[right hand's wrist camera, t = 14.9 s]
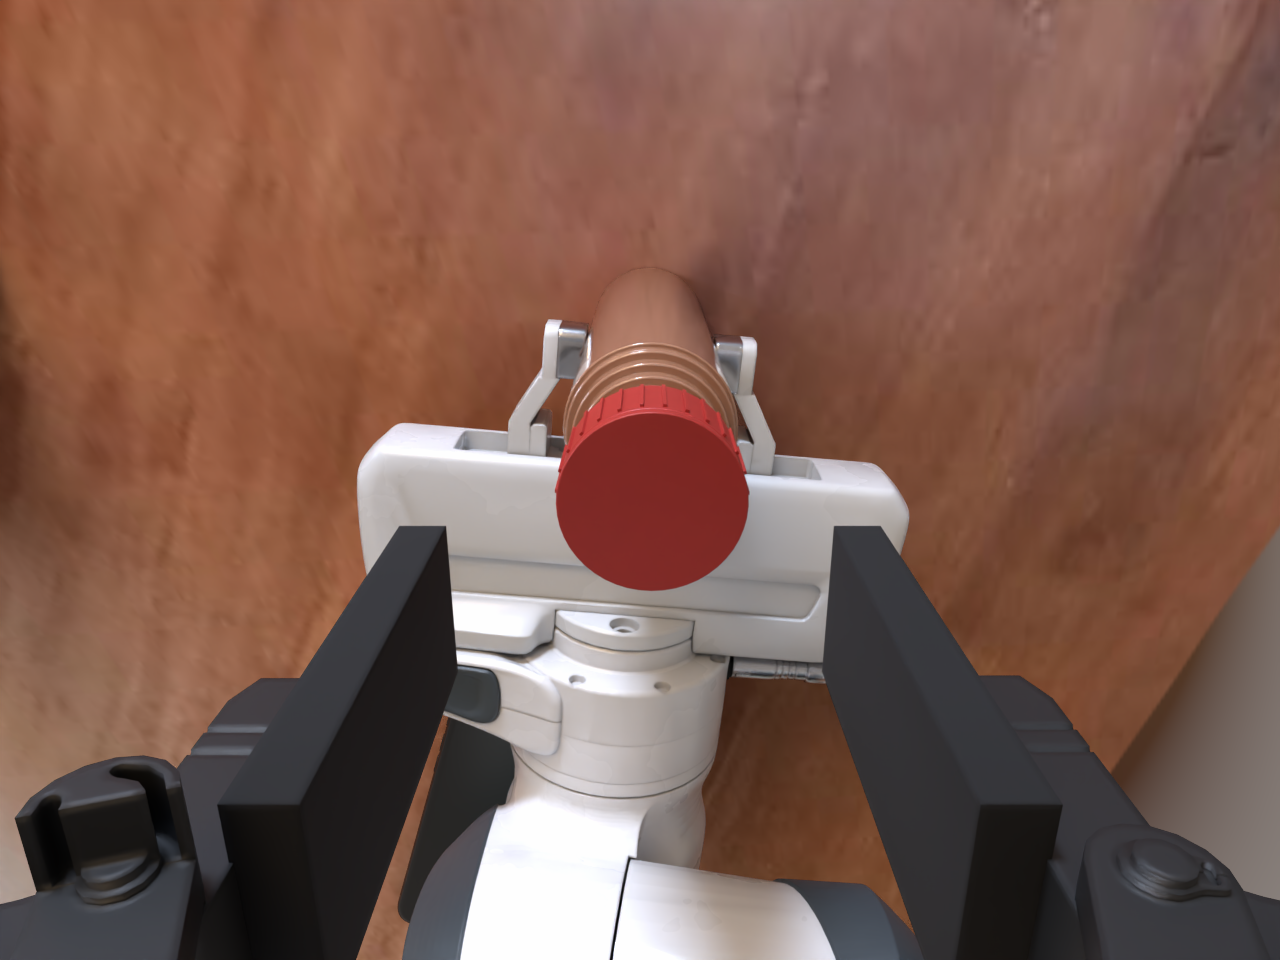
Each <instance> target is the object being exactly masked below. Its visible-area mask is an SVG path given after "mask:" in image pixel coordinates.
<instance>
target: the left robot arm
mask: <svg viewBox="0 0 1280 960" xmlns="http://www.w3.org/2000/svg"><path fill="white" fill-rule="evenodd" d="M588 331H589V323H582V322H573V321H563V320H552V319H549V320H548V321H547V323H546V326H545V333H544V344H543V363H542V369H541V370H540V372H539V373H538V375H537V376H536V378H535V379H534V380H533V382H532V383H531V385H530V386H529V388H528V389H527V391H526V392H525V394H524V395H523V397H522V398H521V400H520V401H519V403H518V404H517V406H516V408H515V410H514V412H513V414H512V416H511V418H510V420H509V424H508V432H506V431H495V430H483V429H471V428H460V427H448V426H436V425H425V424H414V423H400V424H397V425H395V426H394V427H392V428H391V429H390V430H389V431H388V432H387V433H386V434H384V435H383V436H382V437H381V438H380V439H379V440H378V441H377V442H376V443H375V444H374V445H373V446H372V447H371V448H370V450H369V451H368V452H367V453H366V455H365V456H364V458H363V459H362V461H361V463H360V466H359V469H358V475H357V501H358V516H359V527H360V536H361V544H362V551H363V558H364V564H365V569H366V574H367V575H368V573H369V571H370V570H371V568H372V567H373V565H374V564H375V562H376V561H377V559H378V558H379V556H380V555H381V553H382V552H383V550H384V549H385V547H386V545H387V544H388V542H389V541H390V539H391V538H392V536H393V535H394V533H395V532H396V530H397V529H398V527H399V526H446V530H447V543H448V555H449V567H450V579H451V592H452V604H453V616H454V628H455V641H456V653H457V665H458V673H457V676H456V679H455V682H454V684H453V687H452V690H451V693H450V696H449V698H448V701H447V704H446V707H445V710H444V713H443V715H445V716H447V717H450V718H453V719H456V720H458V721H461V722H463V723H466V724H469V725H471V726H474V727H476V728H479V729H481V730H483V731H486V732H488V733H490V734H493V735H495V736H497V737H499V738H501V739H503V740H505V741H507V742H510V745H511V749H512V753H513V758H514V763H515V773H514V779H513V782H512V784H511V786H510V789H509V792H508V795H507V800H506V804H504V805H499V804H496V805H494V806H493V807H491V808H490V809H488V810H487V811H486V812H484V813H483V814H482V815H481V816H480V817H478V818H477V819H476V820H475V821H474V822H473V823H472V824H471V825H470V826H469V827H468V828H467V829H466V830H465V831H464V832H463V833H462V834H461V835H460V836H459V837H458V838H457V839H456V840H455V841H454V842H453V843H452V844H451V845H450V846H449V847H448V848H447V849H446V850H445V851H444V853H443V854H442V855H441V856H440V858H439V859H438V860H437V862H436V863H435V865H434V866H433V868H432V870H431V872H430V873H429V875H428V877H427V879H426V881H425V883H424V885H423V887H422V889H421V892H420V894H419V897H418V900H417V902H416V905H415V908H414V911H413V914H412V917H411V920H410V924H409V927H408V931H407V935H406V940H405V945H404V951H403V957H402V960H924V958H923V955H922V952H921V950H920V947H919V944H918V941H917V938H916V936H915V935H914V934H913V932H912V931H911V930H910V929H909V928H908V927H907V925H906V924H905V923H904V922H903V921H902V920H901V919H900V918H899V917H898V916H897V915H896V914H895V913H894V911H893V910H892V909H891V908H890V907H889V906H888V905H887V904H886V903H885V902H884V901H883V900H882V899H880V898H879V897H878V896H877V895H876V894H875V893H874V892H873V891H872V890H871V889H870V888H869V887H867V886H866V885H863V884H855V883H840V882H825V881H810V880H795V879H776V880H773V881H769V880H762V879H756V878H749V877H743V876H737V875H730V874H724V873H717V872H711V871H704V870H699V866H700V861H701V855H702V849H703V843H704V836H705V828H706V816H705V807H704V802H703V798H702V786H703V783H704V781H705V779H706V778H707V776H708V774H709V772H710V769H711V767H712V765H713V762H714V759H715V756H716V751H717V745H718V738H719V731H720V724H721V717H722V710H723V703H724V696H725V689H726V679H729V677H733V678H746V679H758V680H773V679H774V680H779V679H790V680H793V679H794V680H802V681H804V682H805V683H811V684H826V682H825V679H824V676H823V673H822V665H823V653H824V641H825V628H826V616H827V604H828V592H829V579H830V567H831V555H832V542H833V530H834V526H881V527H882V529H883V530H884V532H885V533H886V535H887V536H888V538H889V539H890V541H891V542H892V544H893V545H894V547H895V549H896V550H897V552H898V553H899V555H901V551H902V548H903V544H904V541H905V537H906V533H907V529H908V524H909V511H908V507H907V504H906V502H905V500H904V498H903V497H902V495H901V493H900V492H899V490H898V489H897V487H896V486H895V484H894V483H893V482H892V481H891V480H890V478H889V477H888V476H887V475H886V474H885V473H884V472H883V470H882V469H881V468H879V467H878V466H877V465H875V464H872V463H867V462H855V461H843V460H832V459H820V458H809V457H797V456H785V455H774V453H775V447H776V444H775V442H774V439H773V437H772V435H771V432H770V430H769V428H768V425H767V423H766V420H765V418H764V416H763V413H762V411H761V409H760V406H759V404H758V402H757V399H756V397H755V395H754V392H753V390H752V388H753V380H754V373H755V365H756V358H757V343H756V341H755V339H754V338H753V337H742V336H731V335H717V334H714V335H713V339H712V340H713V343H714V345H715V348H716V351H717V354H718V356H719V359H720V362H721V365H722V368H723V370H724V373H725V376H726V379H727V381H728V384H729V387H730V390H731V392H732V393H733V395H734V397H735V400H736V402H737V404H738V406H739V409H740V411H741V413H742V416H743V418H744V420H745V423H746V425H747V427H748V428H747V429H746V427H745V426H738V438H737V443H736V444H737V446H739V449H740V452H741V455H742V458H743V462H744V465H745V468H746V471H747V474H745V478H746V482H747V485H748V488H749V491H750V495H749V507H748V515H747V520H746V524H745V527H744V530H743V533H742V535H741V537H740V540H739V541H738V543H737V545H736V546H735V548H734V550H733V551H732V552H731V553H730V555H729V556H728V557H727V558H726V560H724V561H723V562H722V563H721V564H720V565H719V566H718V567H717V568H716V569H715V570H713V571H712V572H711V573H709V574H708V575H706V576H704V577H703V578H701V579H699V580H697V581H695V582H693V583H690V584H688V585H685V586H682V587H679V588H675V589H669V590H663V591H642V590H635V589H630V588H625V587H622V586H619V585H616V584H614V583H611V582H609V581H607V580H605V579H603V578H601V577H600V576H598V575H596V574H595V573H593V572H592V571H591V570H590V569H588V568H587V567H586V566H585V565H584V564H583V563H582V562H581V561H580V560H579V559H578V558H577V557H576V556H575V554H574V553H573V552H572V550H571V549H570V548H569V546H568V544H567V542H566V540H565V539H564V537H563V534H562V532H561V529H560V526H559V522H558V518H557V512H556V493H555V487H556V483H557V480H558V476H559V472H558V469H559V465H560V462H561V458H562V454H563V451H564V447H565V441H564V436H553V435H551V434H552V411H551V410H550V409H540V408H541V407H542V405H543V404H544V402H545V401H546V399H547V398H548V396H549V395H550V393H551V392H552V390H553V389H554V387H555V386H556V384H557V383H558V381H559V380H560V378H565V379H574V378H575V375H576V371H577V368H578V365H579V362H580V359H581V355H582V352H583V349H584V346H585V343H586V340H587V336H588Z"/></svg>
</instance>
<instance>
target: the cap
mask: <svg viewBox="0 0 1280 960" xmlns="http://www.w3.org/2000/svg"><path fill="white" fill-rule="evenodd" d="M558 472H559V476H558V480H557V483H556V487H555V493H556V512H557V518H558V522H559V526H560V529H561V532H562V534H563V537H564V539H565V540H566V542H567V544H568V546H569V548H570V549H571V550H572V552H573V553H574V554H575V556H576V557H577V558H578V559H579V560H580V561H581V562H582V563H583V564H584V565H585V566H586V567H587V568H588V569H590V570H591V571H592V572H593V573H595V574H596V575H598V576H600V577H601V578H603V579H605V580H607V581H609V582H611V583H614V584H616V585H619V586H622V587H625V588H630V589H635V590H642V591H663V590H669V589H675V588H679V587H682V586H685V585H688V584H690V583H693V582H695V581H697V580H699V579H701V578H703V577H704V576H706V575H708V574H709V573H711V572H712V571H713V570H715V569H716V568H717V567H718V566H719V565H720V564H721V563H722V562H723V561H724V560H726V558H727V557H728V556H729V555H730V553H731V552H732V551H733V550H734V548H735V546H736V545H737V543H738V541H739V540H740V537H741V535H742V533H743V530H744V527H745V524H746V520H747V515H748V507H749V495H750V491H749V488H748V485H747V482H746V478H745V474H747V471H746V468H745V465H744V462H743V458H742V455H741V452H740V449H739V446H737V444H736V441H735V438H734V434H733V431H732V429H731V428H729V429H728V427H727V426H726V424H725V423H724V421H723V420H722V417H721V414H720V413H719V412H717V413H716V411H714V410H713V409H712V408H711V407H710V406H709V405H708V404H706V402H705V400H704V399H703V398H702V399H701V400H700V399H699V398H698V397H696V396H694V395H692V394H690V393H687V392H686V390H685V389H683V390H679V389H676V388H671V387H666V385H665V384H662V386H656V385H648V386H644V384H640V386H638V387H632V388H628V389H625V390H623V388H622V389H619V391H618V392H616V393H614V394H612V395H610V396H608V397H606V398H605V399H604V397H603V398H601V399H600V402H598V403H597V404H596V405H595V406H594V407H592V408H591V409H590V410H589V411H587V410H586V411H585V412H584V415H583V418H582V419H581V420H580V422H579V423H578V425H577V426H576V427H575V426H573V428H572V431H571V435H570V439H569V442H568V445H565V447H564V451H563V454H562V458H561V462H560V465H559V469H558Z"/></svg>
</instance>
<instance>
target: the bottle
mask: <svg viewBox="0 0 1280 960" xmlns="http://www.w3.org/2000/svg"><path fill="white" fill-rule="evenodd" d="M640 384H644V386H648V385H656V386H662V384H665V385H666V387H671V388H676V389H679V390H683V389H685V390H686V392H687V393H690V394H692V395H694V396H696V397H698V398H699V399H700V400H701V399H702V398H703V399H704V400H705V402H706V404H708V405H709V406H710V407H711V408H712V409H713V410H714V411H716V413H717V412H719V413H720V414H721V417H722V420H723V421H724V423H725V424H726V426H727V427H728V429H729V428H731V429H732V431H733V434H734V438H735V441H736V443H737V438H738V414H737V408H736V405H735V401H734V398H733V395H732V392H731V390H730V387H729V384H728V381H727V379H726V376H725V373H724V370H723V368H722V365H721V362H720V359H719V356H718V354H717V351H716V348H715V345H714V343H713V340H712V337H711V334H710V331H709V329H708V326H707V323H706V320H705V318H704V315H703V312H702V309H701V306H700V304H699V301H698V299H697V297H696V295H695V293H694V292H693V290H692V289H691V288H690V286H689V285H688V284H687V283H686V282H685V281H684V280H682V279H681V278H680V277H678V276H677V275H675V274H673V273H671V272H669V271H666V270H663V269H658V268H640V269H635V270H632V271H629V272H626V273H624V274H622V275H621V276H619V277H618V278H616V279H615V280H614V281H613V282H612V283H610V285H609V286H608V287H607V288H606V289H605V291H604V292H603V294H602V295H601V297H600V300H599V302H598V305H597V308H596V311H595V314H594V317H593V320H592V324H591V327H590V330H589V333H588V336H587V340H586V343H585V346H584V349H583V352H582V355H581V359H580V362H579V365H578V368H577V371H576V375H575V378H574V381H573V384H572V387H571V391H570V394H569V397H568V400H567V403H566V406H565V412H564V417H563V434H564V441H565V445H568V442H569V439H570V435H571V431H572V428H573V426H575V427H576V426H577V425H578V423H579V422H580V420H581V419H582V418H583V415H584V412H585V411H586V410H587V411H589V410H590V409H591V408H592V407H594V406H595V405H596V404H597V403H598V402H600V399H601V398H603V397H604V399H605V398H606V397H608V396H610V395H612V394H614V393H616V392H618V391H619V389H622V388H623V390H625V389H628V388H632V387H638V386H640Z"/></svg>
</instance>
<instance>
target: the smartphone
mask: <svg viewBox="0 0 1280 960" xmlns="http://www.w3.org/2000/svg"><path fill="white" fill-rule="evenodd" d="M439 751H440V752H439V755H438V757H437V761H436V764H435V768H434V774H433V778H432V781H431V785H430V789H429V792H428V796H427V799H426V803H425V807H424V810H423V814H422V817H421V821H420V825H419V828H418V832H417V835H416V839H415V843H414V846H413V850H412V854H411V857H410V861H409V864H408V868H407V872H406V875H405V879H404V882H403V886H402V890H401V893H400V897H399V901H398V913H399V915H400V917H401V918H402V919H403V920H404V921H406V922H408V923H410V920H411V917H412V914H413V911H414V908H415V905H416V902H417V900H418V897H419V894H420V892H421V889H422V887H423V885H424V883H425V881H426V879H427V877H428V875H429V873H430V872H431V870H432V868H433V866H434V865H435V863H436V862H437V860H438V859H439V858H440V856H441V855H442V854H443V853H444V851H445V850H446V849H447V848H448V847H449V846H450V845H451V844H452V843H453V842H454V841H455V840H456V839H457V838H458V837H459V836H460V835H461V834H462V833H463V832H464V831H465V830H466V829H467V828H468V827H469V826H470V825H471V824H472V823H473V822H474V821H475V820H476V819H477V818H478V817H480V816H481V815H482V814H483V813H484V812H486V811H487V810H488V809H490V808H491V807H493V806H494V805H496V804H499V805H504V804H506V800H507V795H508V792H509V789H510V786H511V784H512V782H513V779H514V773H515V763H514V758H513V753H512V749H511V745H510V742H507V741H505V740H503V739H501V738H499V737H497V736H495V735H493V734H490V733H488V732H486V731H483V730H481V729H479V728H476V727H474V726H471V725H469V724H466V723H463V722H461V721H458V720H456V719H453V718H450V717H449V718H448V721H447V727H446V731H445V734H444V736H443V739H442V743H441V746H440V750H439Z"/></svg>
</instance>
